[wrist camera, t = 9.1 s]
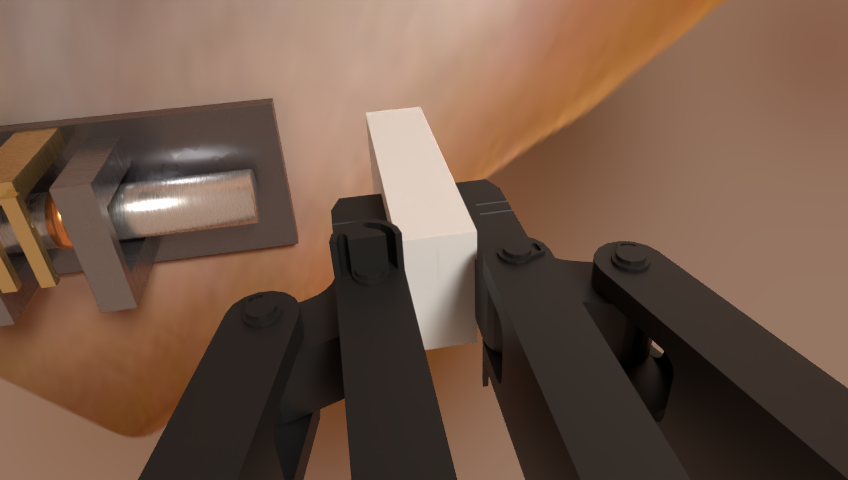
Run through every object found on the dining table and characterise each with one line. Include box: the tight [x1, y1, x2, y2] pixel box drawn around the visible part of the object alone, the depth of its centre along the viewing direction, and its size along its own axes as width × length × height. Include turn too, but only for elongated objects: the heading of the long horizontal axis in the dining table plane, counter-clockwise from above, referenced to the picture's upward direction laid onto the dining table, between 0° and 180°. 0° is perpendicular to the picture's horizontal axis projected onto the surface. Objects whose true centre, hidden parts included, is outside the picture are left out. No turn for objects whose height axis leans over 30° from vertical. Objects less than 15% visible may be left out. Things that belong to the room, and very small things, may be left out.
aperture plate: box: [0, 127, 66, 293], centre depth 41 cm, size 7×3×9 cm, turn 3°
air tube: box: [0, 169, 261, 254], centre depth 44 cm, size 20×4×4 cm, turn 93°
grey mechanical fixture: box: [0, 99, 298, 326], centre depth 44 cm, size 12×24×9 cm, turn 93°
